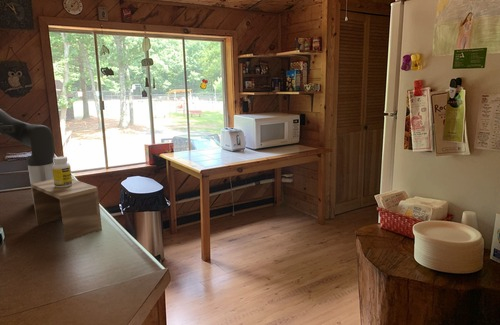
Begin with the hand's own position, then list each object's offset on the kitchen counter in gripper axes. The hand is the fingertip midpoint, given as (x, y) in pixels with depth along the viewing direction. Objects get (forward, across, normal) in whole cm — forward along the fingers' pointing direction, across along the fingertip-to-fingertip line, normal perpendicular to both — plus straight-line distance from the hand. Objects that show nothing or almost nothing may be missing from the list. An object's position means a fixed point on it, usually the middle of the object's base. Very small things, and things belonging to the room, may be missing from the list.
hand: (9, 127), depth 110 cm
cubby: (+12, -4, +36) cm, 38 cm away
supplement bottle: (+12, -4, +21) cm, 25 cm away
